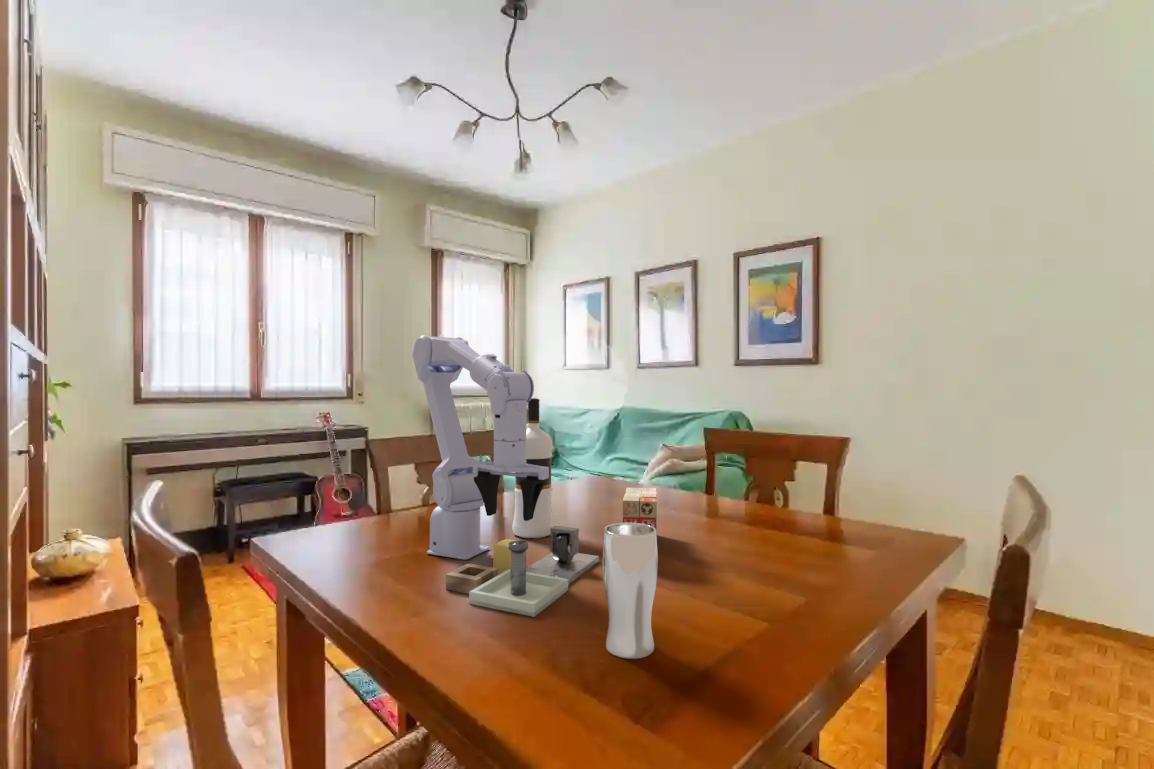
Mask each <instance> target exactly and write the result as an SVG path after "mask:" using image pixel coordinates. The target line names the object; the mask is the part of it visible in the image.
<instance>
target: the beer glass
mask: <svg viewBox="0 0 1154 769" xmlns="http://www.w3.org/2000/svg"><path fill="white" fill-rule="evenodd" d="M603 531H604V534H603V543H602V576H603V583H604V584H603V585H604V590H605V596H606V602H607V610H608V629H607V634H606V639H605V648H606V650H607V652H608V653H610V654H612V655H613V656H614V657H618V658H621V659H628V660H629V659H630V660H637V659H643V658H646V657H648V656H650V655H651V654H652V653H654V652H655V651H654V650H655V642H654V637H653V636H654V635H653V631H652V630H653V629H652V611H653V606H654V605H653V603H654V598H655V593H656V589H657V588H656V587H657V581H658V574H659V573H658V571H659V555H658V554H659V553H658V541H657V540H658V537H657V538H656V529H655V528H654V527H652V526H650V525H647V524H641V523H630V522H626V523H623V522H616V523H610V524H608V525H606V526H605V527H604V528H603Z"/></svg>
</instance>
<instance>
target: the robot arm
mask: <svg viewBox="0 0 1154 769" xmlns="http://www.w3.org/2000/svg"><path fill="white" fill-rule="evenodd" d="M412 358H413V359H412V360H413V363H414V364H413V365H414V367H415V371H416V375H417V378H418V380H419V381H420V382H422V384H423V390H424V394H425V398H426V402H427V405H428V411H429V413H430V417H431V418H430V419H431V421H432V425H433V430H434V433H435V438H436V441H437V446H438V450H439V454H440V458H441V463H440V464H439V465H438V466H437V467H436V468H435V470H433V473H432V474H431V476H432V484H433V485H432V486H433V487H432V494H433V498H434V501H435V504H437V506H436V507H435V508H434V509H433V510H432V512H431V515H430V517H429V518H430V519H429V549H428V550H427V551H426V554H428V555H433V556H441V557H445V558H446V557H447V558H452V559H457V560H464V561H466V560H469V559H471V558H474V557H475V556H478V555H479V554H481V553H483V552H486V551H488V550H489V549H490V546H488V545H483V544H481V507H483V506H484V509H485V510H484V511H485V513H486V516H487V517H488V516H489V517H490V516H493V515H496V514H497V511H498V510H497V508H498V490H499V484H500V479H501V476H506V477H507V476H508V477H515V476H517V477H527V479H524V480H521V481H520V486H521V491H522V496H523V518H524V521H528V520H531V519H533V515H534V511H535V507H536V503H537V500H538V497H539V495H540V493H541V491H542V489H543V487H544V485H545V483H546V479H547V478H549V467H543V466H537V465H531V464H526V429H527V428H528V402H529V401H530V400H531V398H533V396H534V390H535V389H534V387H535V386H534V380H533V377H532V376H531V375H530V374H529V373H528V371H525V370H519V371H514V370H513V369H512V367H511V365H509V364H506V363H503V362H501V361H500V360H498V359H497V358H498V357H497V355H495V354H493V353H487V354H482V355H480V354H479V353H478V352H477V351H475V350H474V349H473V348H472V347H470V346H469V341H468V340H466V339H464V338H463V337H459V336H458V337H445V336H431V335H430V336H429V335H426V334H425V335H424V334H421V335H419V336H418V338H417V339H416V341H415V343H414V346H413V352H412ZM463 368H464V369H465V370H467V371H469V376H470V378H471V380H472V381H473V382H474V383H475V384H477V385H478V386H479V387H480V388H482V389H484V391H486V393H487V397H488V399H489V402H490V411H491V413H492V414H493V461H482V460H481V461H480V460H479V461H478V460H477V459H475V458H474V457H472V456H471V455H469V454H468V449H467V446H466V442H465V438H464V434H463V430H462V427H461V423H460V419H459V415H458V411H457V408H456V403H455V400H454V397H453V393H452V388H451V384H452V383H454V382H456V381H457V380H458V379H459V378H460V377H459V376H460V374H461V372H462V371H463ZM515 472H517V473H515ZM523 473H524V474H523Z"/></svg>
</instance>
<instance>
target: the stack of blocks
mask: <svg viewBox="0 0 1154 769" xmlns="http://www.w3.org/2000/svg"><path fill="white" fill-rule="evenodd" d="M657 494H658V492H657V488H656V487H631V486H630V487H626V489H625V493H624V494H623V495H624V496H623V499H622V523H626V522H630V523H641V524H647V525H650V526H652V527H654V528H655V529H656V538H657V539H658V529H657V528H658V526H657V525H658V523H657V522H658V520H657V519H658V515H657V513H658V507H657V506H658V505H657V504H658V501H657V500H658V498H657V497H658V496H657Z"/></svg>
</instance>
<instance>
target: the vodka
mask: <svg viewBox="0 0 1154 769" xmlns="http://www.w3.org/2000/svg"><path fill="white" fill-rule="evenodd" d="M540 427H541V426H540V399H539V398H536V397H534V398H533V397H532V398H531V400H530V401H529V402H527V427H526V464H531V465H537V466H543V467H549V478H547V479H546V483H545V485H544V487H543V489H542V491H541V493H540V495H539V497H538V500H537V503H536V507H535V511H534V515H533V519H531V520H528V521H524V518H523V496H522V491H521V486H520V481H521V480H524V479H527V477H517V476H514V478H515V479H514V480H515V481H514V482H515V483H514V484H515V485H514V486H515V487H514V490H513V491H514V499H515V500H514V501H515V502H514V512H513V513H514V514H513V521H512V524H511V525H512V526H511V527H512V529H511V530H512V532H513V534H514V535H515V536H517V537H518V536H519V538H522V539H530V538H534V539H542V537H543V538H546V536H547V537H549V536H550V528H551V527H553V526H555V521H554V519H553V518H554V516H553V505H552V503H553V501H552V494H553V493H552V492H553V487H552V456H553V453H552V452H553V440H552V437H551V435H549V434H548V433H547V432H545V431H544V430H543V429H541V428H540ZM514 473H517V472H514ZM523 474H524V473H523Z"/></svg>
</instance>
